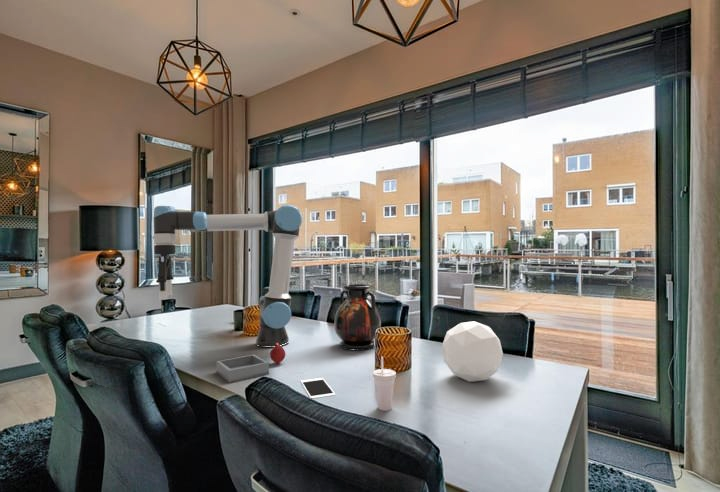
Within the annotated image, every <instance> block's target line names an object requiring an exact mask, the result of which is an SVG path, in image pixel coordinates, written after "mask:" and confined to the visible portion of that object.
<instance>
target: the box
mask: <svg viewBox="0 0 720 492" xmlns="http://www.w3.org/2000/svg"><path fill="white" fill-rule="evenodd" d="M215 371H216V373H217V374H218V375H219V376H221V378H223V379H224V380H225V381H226V382H228V383H229V384H230V383H235V382H239V381H243V380H247V379H248V380H249V379H252V378H256V376H257V377H262V376H266V375H270V363H269V362H268V361H267V360H265V359H263V358H262V357H259V356H258V355H256V354H249V355H242V356H236V357H233V358H227V359H226V358H225V359H222V360H221V359H220V360H216V370H215ZM261 375H262V376H261Z"/></svg>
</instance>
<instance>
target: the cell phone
mask: <svg viewBox="0 0 720 492" xmlns="http://www.w3.org/2000/svg"><path fill="white" fill-rule="evenodd" d="M299 381H300V383H301V385H302V386H303V388H304V390H305V392H306V393H307V395H308V397H309V399H310V398H312V400H314V399H319V398H326V397H333V396H336V393H335V391H334V390H333V388H332V387H331V386H330V384H328V383H327V381H326V380H325V378H324V377H319V378H318V377H317V378H316V377H315V378H309V379H303V380H302V379H301V380H299Z"/></svg>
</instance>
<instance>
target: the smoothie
mask: <svg viewBox="0 0 720 492" xmlns="http://www.w3.org/2000/svg"><path fill="white" fill-rule="evenodd" d="M380 357H381V359H380V360H381V361H380V365H381V366H380V368H381V369H380V368H379V369H375V370H374V371H372V378H374V385H375V386H374V387H375V395H376V402H377V408H378V410H380V411H385V412H387V411H390V410H392V408H393V407H392V406H393V398H394V387H395V379H396V377H397V373H396V371H395V370H393V369H389V368H384V356H380Z"/></svg>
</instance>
